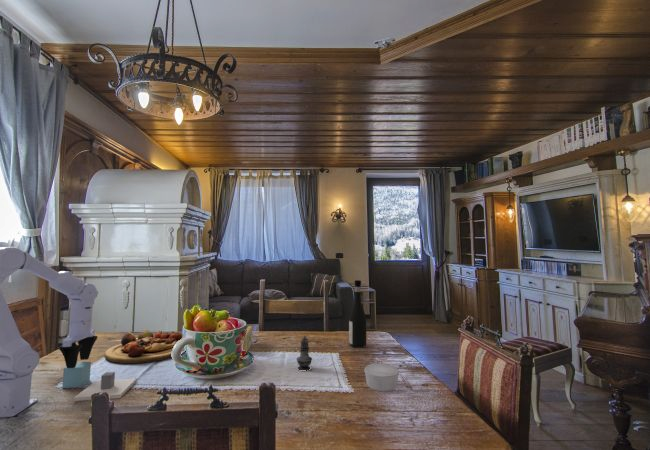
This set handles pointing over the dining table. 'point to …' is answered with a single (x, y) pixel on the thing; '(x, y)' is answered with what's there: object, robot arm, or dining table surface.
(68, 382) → the pale blue cube
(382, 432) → the dining table surface
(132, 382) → the post stand
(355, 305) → the wine bottle
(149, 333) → the wooden plate with food
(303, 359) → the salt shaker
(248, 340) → the candy box
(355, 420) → the dining table surface
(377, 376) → the ramekin
